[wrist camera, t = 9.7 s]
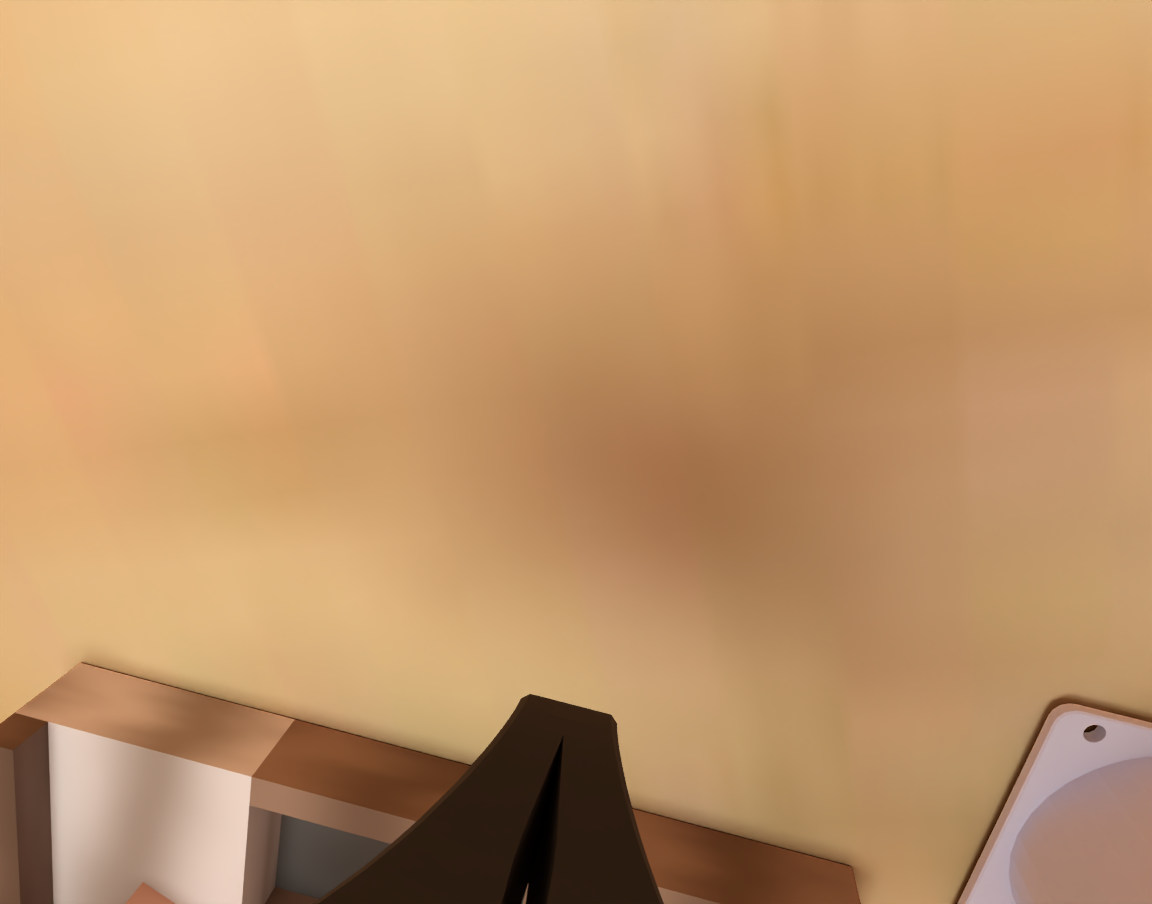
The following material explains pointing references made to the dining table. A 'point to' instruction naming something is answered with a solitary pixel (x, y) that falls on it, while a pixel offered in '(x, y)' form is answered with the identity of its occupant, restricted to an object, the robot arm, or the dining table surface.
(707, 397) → the dining table surface
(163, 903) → the terracotta block
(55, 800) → the trap board
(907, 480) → the dining table surface
